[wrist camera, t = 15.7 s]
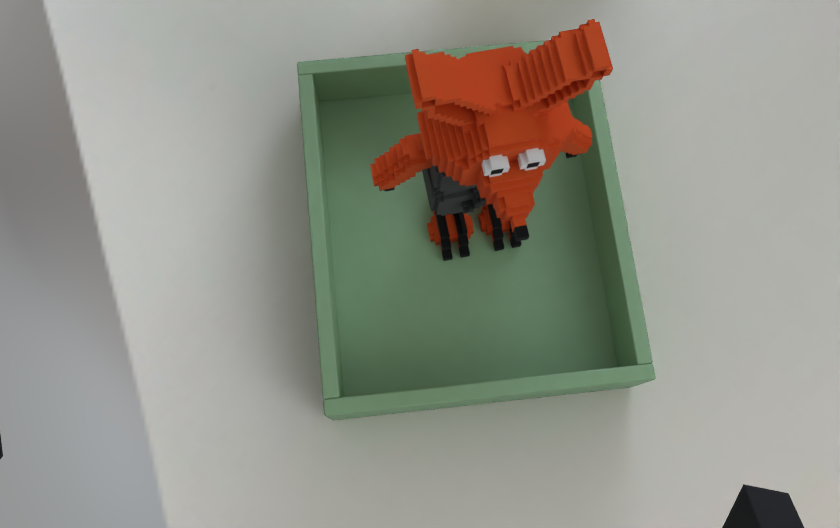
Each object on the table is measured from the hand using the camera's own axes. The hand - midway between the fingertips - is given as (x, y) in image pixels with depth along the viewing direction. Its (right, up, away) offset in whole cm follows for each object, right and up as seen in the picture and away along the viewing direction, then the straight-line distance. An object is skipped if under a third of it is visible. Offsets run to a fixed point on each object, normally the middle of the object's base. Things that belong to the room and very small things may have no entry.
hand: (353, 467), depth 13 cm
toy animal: (+4, +5, +18) cm, 19 cm away
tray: (+3, +5, +19) cm, 20 cm away
